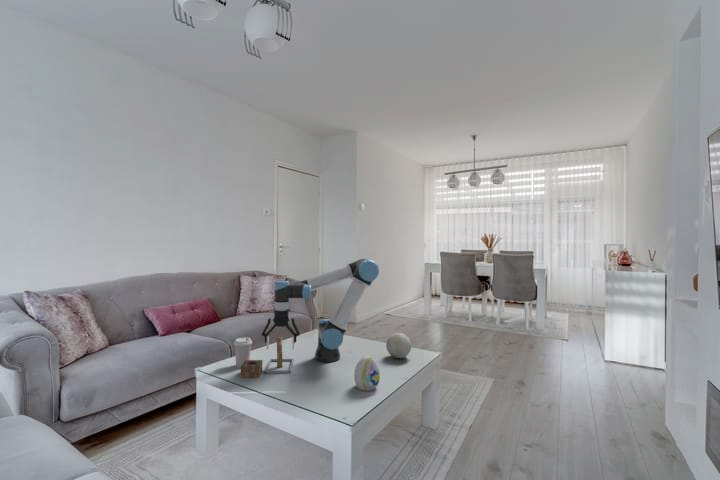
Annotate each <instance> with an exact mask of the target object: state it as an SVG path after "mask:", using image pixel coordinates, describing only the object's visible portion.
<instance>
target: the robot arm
mask: <svg viewBox="0 0 720 480" xmlns="http://www.w3.org/2000/svg"><path fill="white" fill-rule="evenodd" d="M379 274H380V268H379V265H378V264H377V262H375V261H374V260H372V259H369V258H361V259H358V260H356V261H353V262H350V263H347V265H346V266H343V267H341V268H337V269H335V270H331V271H328V272H326V273H323V274H319V275H316V276H313V277H310V278H307V279H304V280H298V281H296V282H295V283H294V284H290V281H289V280H277V281H276V282H275V284H274V285H275V286H274V287H275V288H274V313H273V314H274V315H273V318H271V317H269V318H268V320H267V323H266V325H265V326H264V329H263V331H262V333H261V334H260V335H261V336H262V337H264V343H266V350H269V349H270V347H269V346H270V336H269V335H270V334H271V333H272V332H273V331H274V330H275V328H276V327H277V328H280V327H281V328H287V330H289V332H290V333H291V335H292V343H291V344H292V346H291V349H292V350H294V348H295V344H296V343H297V337H299V336H300V334H301V332H300V331H299V329H298V326H297V324H296V322H295V318H294V317H292V318H290V317H289V314H290V313H289V311H290V310H289V309H290V306H289V304H290V299H310V298H311V297H312V291H313V292H314V291H317V290H319V289H322V288H325V287H328V286H331V285H335V284H338V283H341V282H343V281H347V280H352V281H351V283H350V285H349V287H348V289H347V291H346V292H345V294H344V296H343V298H342V300H341V301H340V304H339V305H338V307H337V309H336V311H335V312H334V315H333V317H331V318H325V319H324V318H322V319H319V320H318V325H317V326H318V331H317V335H318V338H317V348H316V350H315V353H314V359H315V360H316V361H317V362H321V363H333V362H337V361H339V360H340V359H341V352H340V349H339V348H340V347H341V345H342V344H343V343H344V342H343V341H344V335H345V334H346V332H347V330H348V329H347V324H348V322H349V320H350V318H351V316H352V315H353V313H354V311H355V310H356V307H357V305H358V304H359V302H360V300H361V297H362V296H363V295H364V293H365V290H366V289H367V288H369V287H371V285H372V283H373V282H374V281H375V280H376V279H377V278H378V277H379ZM289 322H290V323H291V324H292V326H293V328H292V327H291V326H290V324H289ZM271 323H274V324H273V325H272V326H271V327H270V328H269V326H270V324H271ZM268 328H269V330H268ZM267 330H268V331H267Z"/></svg>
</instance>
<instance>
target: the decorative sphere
mask: <svg viewBox="0 0 720 480" xmlns="http://www.w3.org/2000/svg"><path fill="white" fill-rule="evenodd" d="M411 349H412V342H411V340H410V338H409V337H408V336H407V334H405V333H403V332H395V333H392V334H391V335H390V336H388V338H387V340H386V350H387V352H388V354H389V355H390V356H391V357H393V358H394V357H395V359H398V358H400V359H405V357H407V356H409V354H410V353H411V351H412V350H411Z"/></svg>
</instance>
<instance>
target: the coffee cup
mask: <svg viewBox="0 0 720 480" xmlns="http://www.w3.org/2000/svg"><path fill="white" fill-rule="evenodd" d="M252 344H253V340H252V339H251V338H250V337H239V338H238V337H237V338H235V341H234V342H233V345H234V354H235V355H234V357H235V367H236V368H237V369H241V365H242V364H243V362H244V361H245V360H251V359H250V358H251V352H252V351H251V349H252Z"/></svg>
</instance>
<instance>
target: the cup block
mask: <svg viewBox="0 0 720 480" xmlns="http://www.w3.org/2000/svg"><path fill="white" fill-rule="evenodd" d="M262 372H263V359H250V360H245V361H244V362H243V364H242V365H241V368H240V379H253V378H254V379H256V378H257V379H259V378H260V377H261V374H262Z"/></svg>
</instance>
